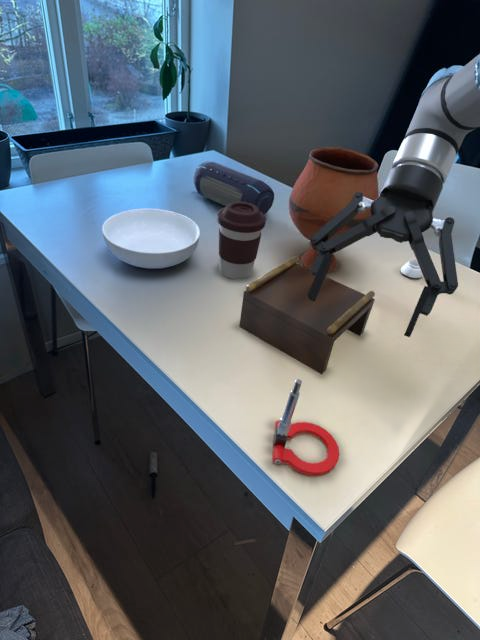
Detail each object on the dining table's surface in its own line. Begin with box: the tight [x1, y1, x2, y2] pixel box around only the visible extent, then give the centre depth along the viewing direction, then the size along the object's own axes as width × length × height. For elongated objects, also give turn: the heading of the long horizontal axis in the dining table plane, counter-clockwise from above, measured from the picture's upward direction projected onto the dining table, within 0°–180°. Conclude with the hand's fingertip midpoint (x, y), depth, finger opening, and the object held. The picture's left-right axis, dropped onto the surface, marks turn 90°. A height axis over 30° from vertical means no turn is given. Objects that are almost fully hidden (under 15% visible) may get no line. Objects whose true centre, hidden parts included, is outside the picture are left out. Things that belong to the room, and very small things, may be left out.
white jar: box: [400, 259, 423, 279], centre depth 106 cm, size 5×3×5 cm
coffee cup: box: [216, 202, 267, 280], centre depth 95 cm, size 10×10×15 cm
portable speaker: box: [193, 161, 275, 215], centre depth 125 cm, size 25×10×10 cm, turn 50°
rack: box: [239, 256, 376, 375], centre depth 82 cm, size 18×16×10 cm
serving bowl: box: [101, 208, 201, 269], centre depth 99 cm, size 21×21×7 cm
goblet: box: [288, 146, 380, 273], centre depth 99 cm, size 19×19×25 cm
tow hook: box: [272, 379, 340, 477], centre depth 59 cm, size 8×13×9 cm
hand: (357, 316), depth 60 cm, fingers open, 13 cm apart
